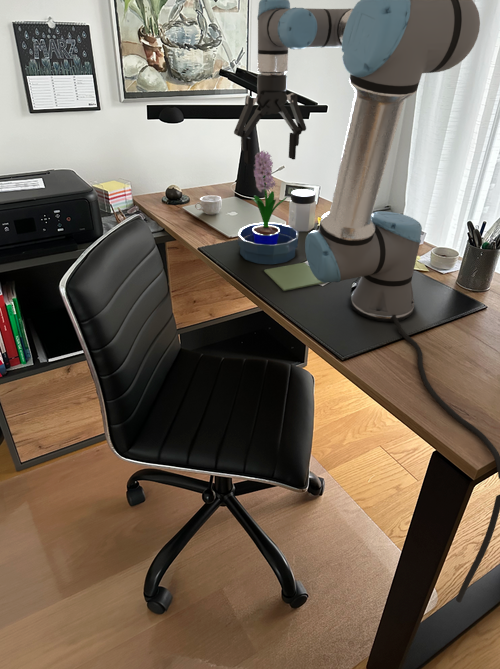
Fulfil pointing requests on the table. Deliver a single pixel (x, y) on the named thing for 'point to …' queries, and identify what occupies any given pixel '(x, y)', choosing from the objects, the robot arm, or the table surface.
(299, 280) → the mat
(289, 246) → the bowl
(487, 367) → the table surface
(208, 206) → the teacup
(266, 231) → the hyacinth
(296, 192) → the jar
